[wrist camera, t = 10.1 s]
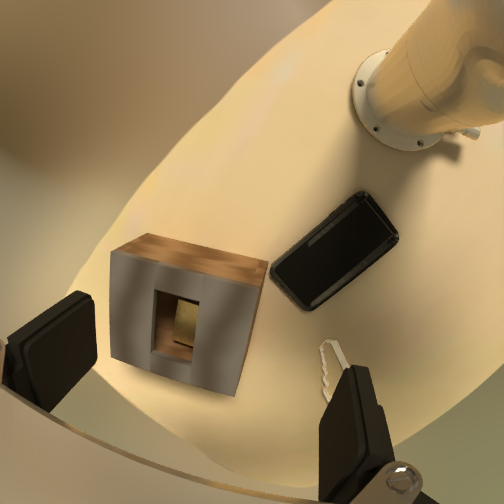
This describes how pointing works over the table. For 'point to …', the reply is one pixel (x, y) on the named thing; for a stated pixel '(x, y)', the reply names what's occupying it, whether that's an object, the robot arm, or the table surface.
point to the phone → (335, 252)
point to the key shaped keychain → (340, 357)
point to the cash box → (165, 305)
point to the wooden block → (185, 321)
